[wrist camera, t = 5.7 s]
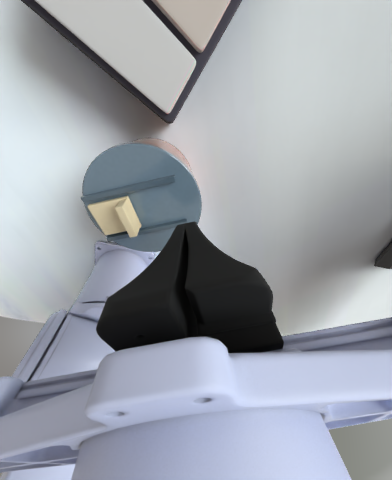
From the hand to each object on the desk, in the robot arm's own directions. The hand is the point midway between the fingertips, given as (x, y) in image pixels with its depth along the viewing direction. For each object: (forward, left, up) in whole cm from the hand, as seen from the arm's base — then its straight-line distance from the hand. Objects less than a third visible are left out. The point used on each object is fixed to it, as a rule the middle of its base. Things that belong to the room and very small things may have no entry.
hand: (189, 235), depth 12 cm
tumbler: (-1, +3, -10) cm, 11 cm away
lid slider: (-2, +5, -3) cm, 7 cm away
